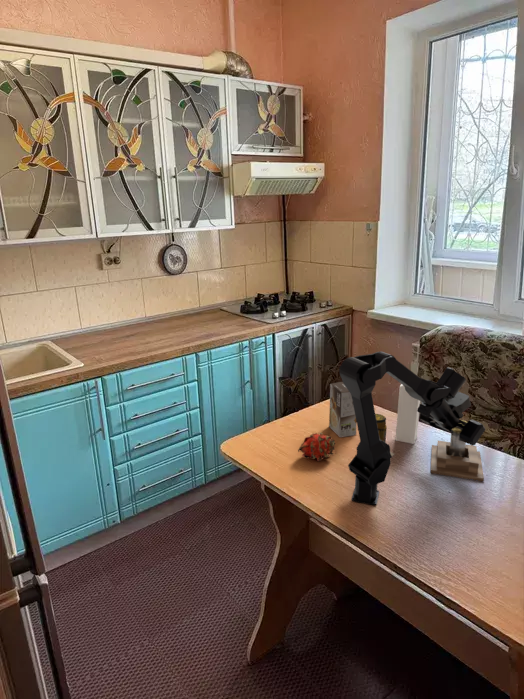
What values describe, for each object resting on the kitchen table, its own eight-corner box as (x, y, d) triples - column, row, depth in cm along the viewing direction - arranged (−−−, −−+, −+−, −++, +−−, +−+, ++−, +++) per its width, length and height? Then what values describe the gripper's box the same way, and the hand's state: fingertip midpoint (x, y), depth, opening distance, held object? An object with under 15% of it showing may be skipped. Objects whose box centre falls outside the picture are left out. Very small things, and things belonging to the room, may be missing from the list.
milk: (395, 440, 160) (399, 377, 154) (398, 433, 166) (403, 371, 159) (414, 444, 158) (419, 379, 151) (417, 436, 163) (422, 373, 157)
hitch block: (483, 481, 137) (485, 468, 135) (430, 473, 141) (431, 460, 140) (479, 454, 151) (481, 443, 150) (431, 447, 155) (432, 436, 154)
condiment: (373, 444, 158) (375, 410, 154) (395, 454, 152) (398, 419, 148) (358, 451, 153) (360, 416, 150) (380, 462, 147) (383, 425, 144)
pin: (469, 464, 143) (473, 427, 140) (451, 465, 143) (455, 428, 139) (460, 455, 148) (464, 419, 145) (443, 456, 148) (446, 420, 145)
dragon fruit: (338, 461, 151) (301, 470, 149) (328, 436, 156) (292, 445, 154) (342, 449, 144) (303, 459, 142) (332, 424, 149) (294, 433, 147)
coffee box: (357, 435, 164) (359, 390, 159) (339, 437, 162) (341, 392, 158) (344, 423, 173) (346, 380, 168) (327, 426, 171) (329, 383, 166)
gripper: (485, 397, 129) (506, 426, 137) (430, 376, 145) (451, 403, 153) (461, 431, 128) (484, 458, 136) (408, 406, 143) (431, 432, 152)
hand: (462, 436), depth 144 cm, fingers open, 8 cm apart
